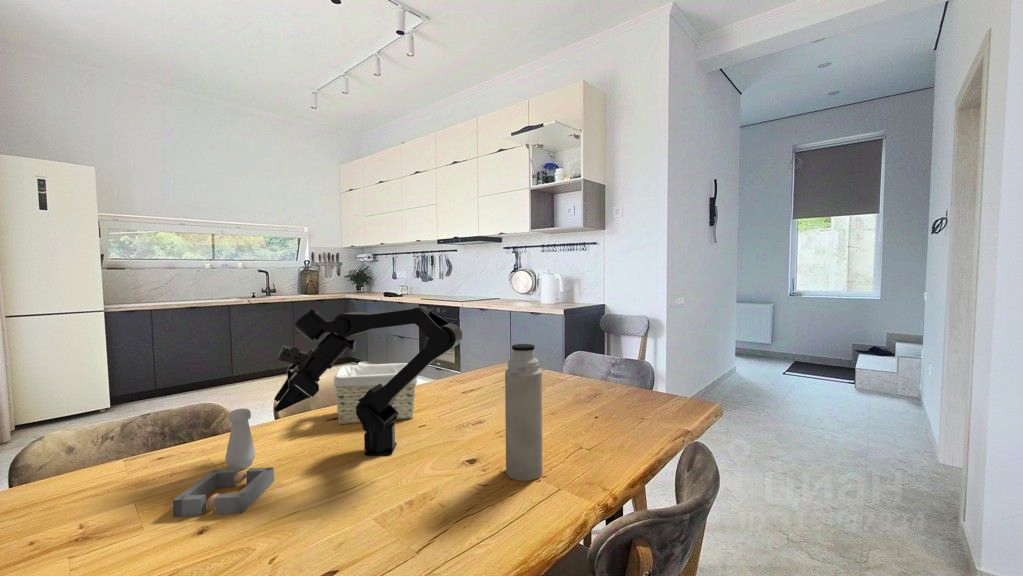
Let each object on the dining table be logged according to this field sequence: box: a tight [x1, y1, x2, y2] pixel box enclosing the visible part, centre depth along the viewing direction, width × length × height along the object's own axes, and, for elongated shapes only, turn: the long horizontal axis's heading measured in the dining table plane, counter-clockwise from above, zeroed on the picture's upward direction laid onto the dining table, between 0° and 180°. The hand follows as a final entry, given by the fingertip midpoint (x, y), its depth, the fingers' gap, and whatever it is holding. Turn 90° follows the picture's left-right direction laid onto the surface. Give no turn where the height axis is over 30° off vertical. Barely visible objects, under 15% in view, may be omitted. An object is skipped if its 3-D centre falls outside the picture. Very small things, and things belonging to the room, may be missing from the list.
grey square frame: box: [172, 466, 275, 517], centre depth 83 cm, size 12×12×3 cm
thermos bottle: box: [504, 343, 543, 482], centre depth 92 cm, size 8×8×28 cm
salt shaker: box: [224, 408, 256, 471], centre depth 96 cm, size 6×6×13 cm
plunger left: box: [206, 492, 220, 507], centre depth 79 cm, size 2×2×2 cm
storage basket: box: [333, 362, 419, 425], centre depth 131 cm, size 24×16×15 cm
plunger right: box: [234, 471, 246, 484], centre depth 88 cm, size 2×2×2 cm
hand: (275, 405), depth 100 cm, fingers open, 9 cm apart
